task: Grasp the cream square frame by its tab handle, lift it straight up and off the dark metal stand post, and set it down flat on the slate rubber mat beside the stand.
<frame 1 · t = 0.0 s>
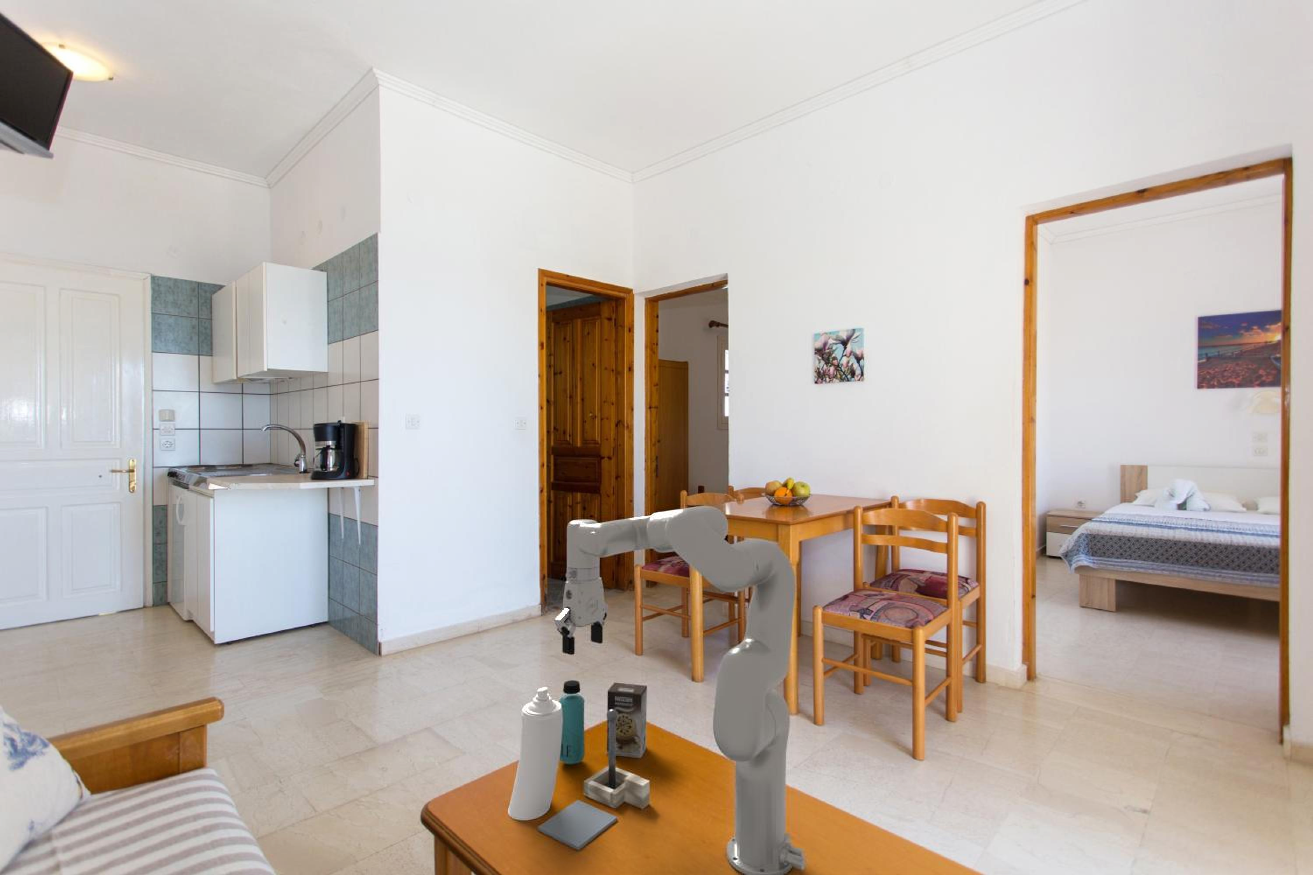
hand: (582, 647, 147), 31 cm above the table, fingers open, 9 cm apart
spray can: (535, 805, 138), on the table
cream square frame: (612, 792, 143), on the table
beverage bottle: (571, 764, 155), on the table
mat: (578, 824, 131), on the table
coffee box: (626, 751, 162), on the table
stand: (612, 792, 143), on the table
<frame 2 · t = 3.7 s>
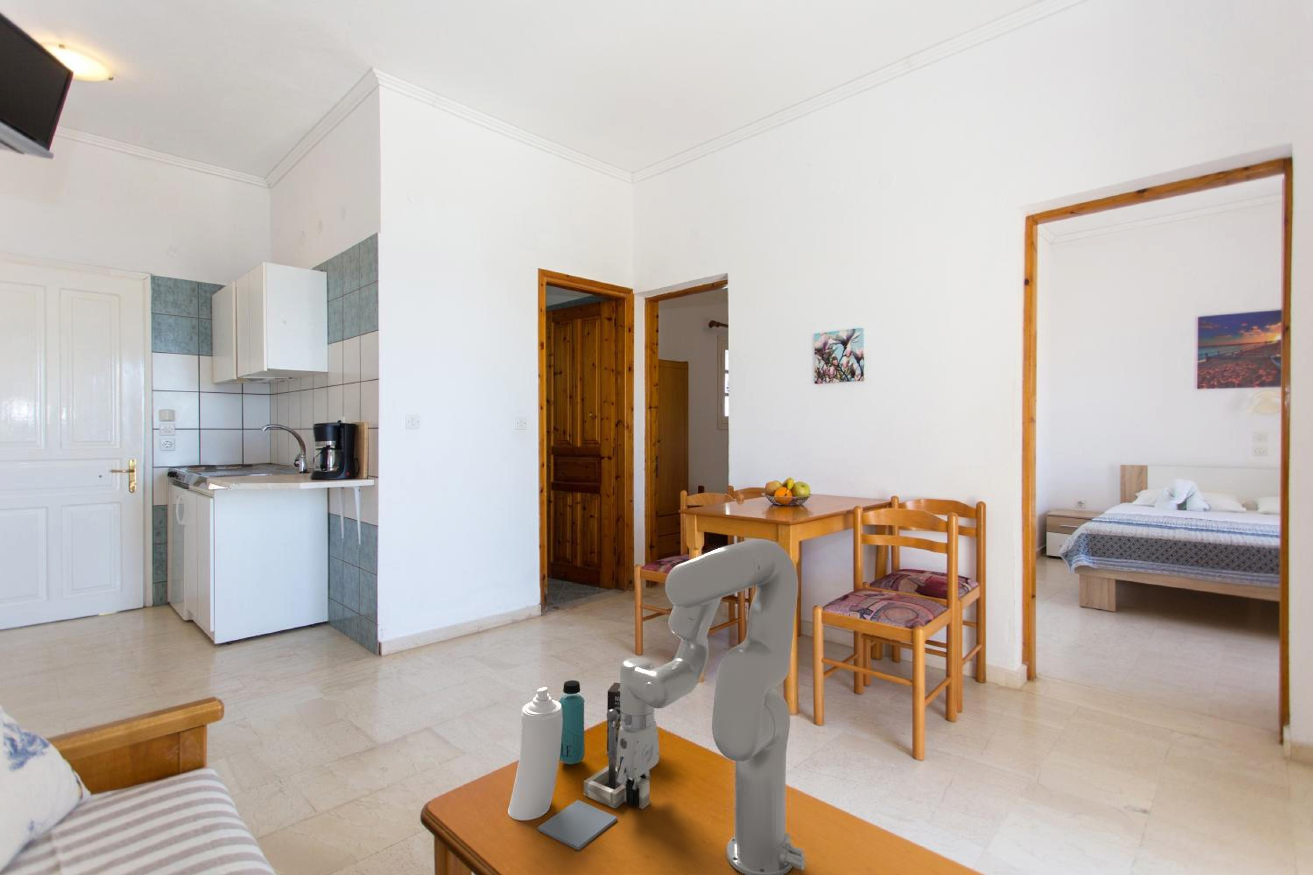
hand: (636, 800, 139), 0 cm above the table, fingers closed on cream square frame
cream square frame: (612, 792, 143), on the table, touching gripper
everything else where it was.
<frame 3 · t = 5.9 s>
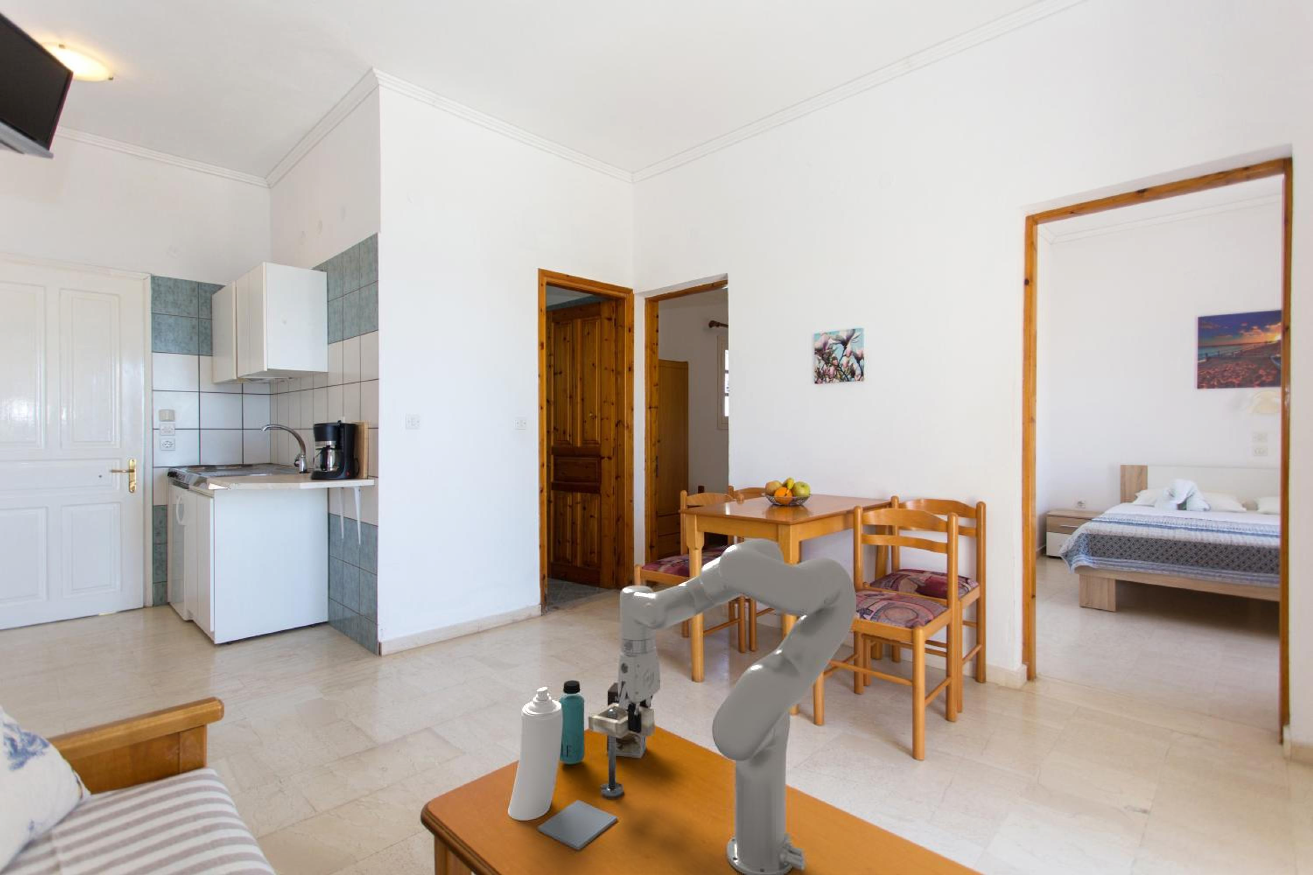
hand: (638, 727, 139), 16 cm above the table, fingers closed on cream square frame
cream square frame: (617, 726, 142), point 15 cm above the table, touching gripper
everything else where it was.
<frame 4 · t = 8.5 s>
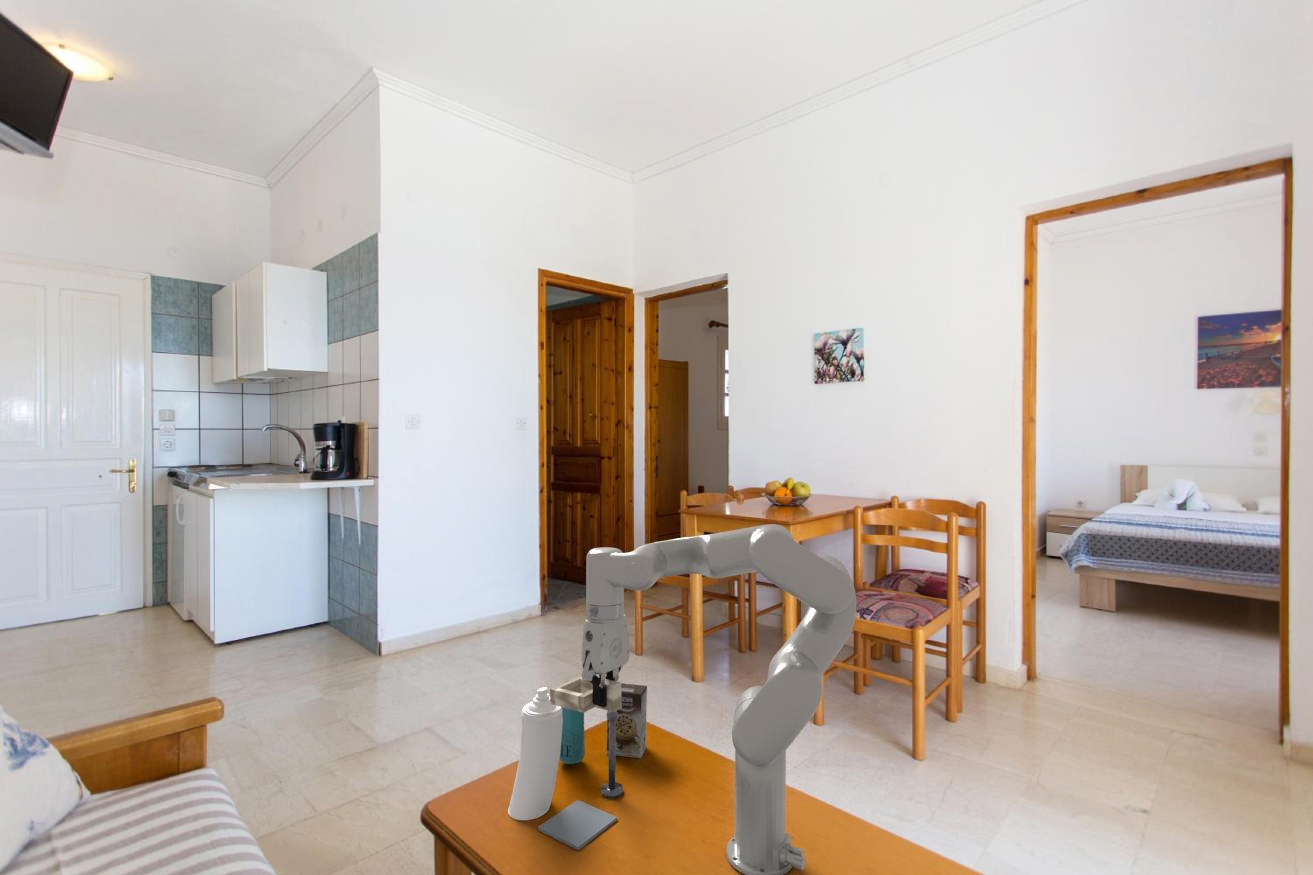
hand: (604, 701, 127), 27 cm above the table, fingers closed on cream square frame
cream square frame: (581, 700, 130), point 26 cm above the table, touching gripper
everything else where it was.
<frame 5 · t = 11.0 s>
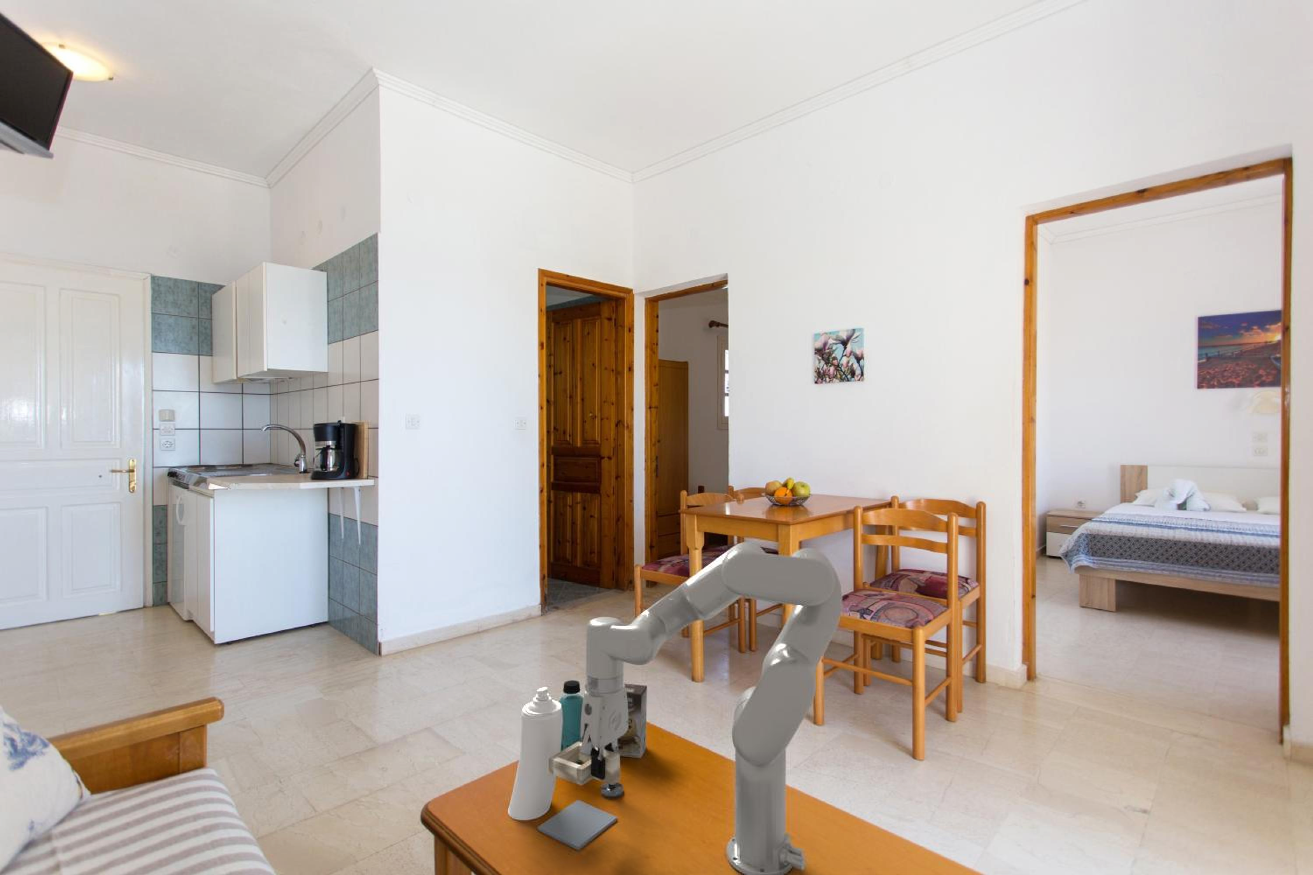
hand: (603, 772, 127), 13 cm above the table, fingers closed on cream square frame
cream square frame: (580, 769, 130), point 12 cm above the table, touching gripper
everything else where it was.
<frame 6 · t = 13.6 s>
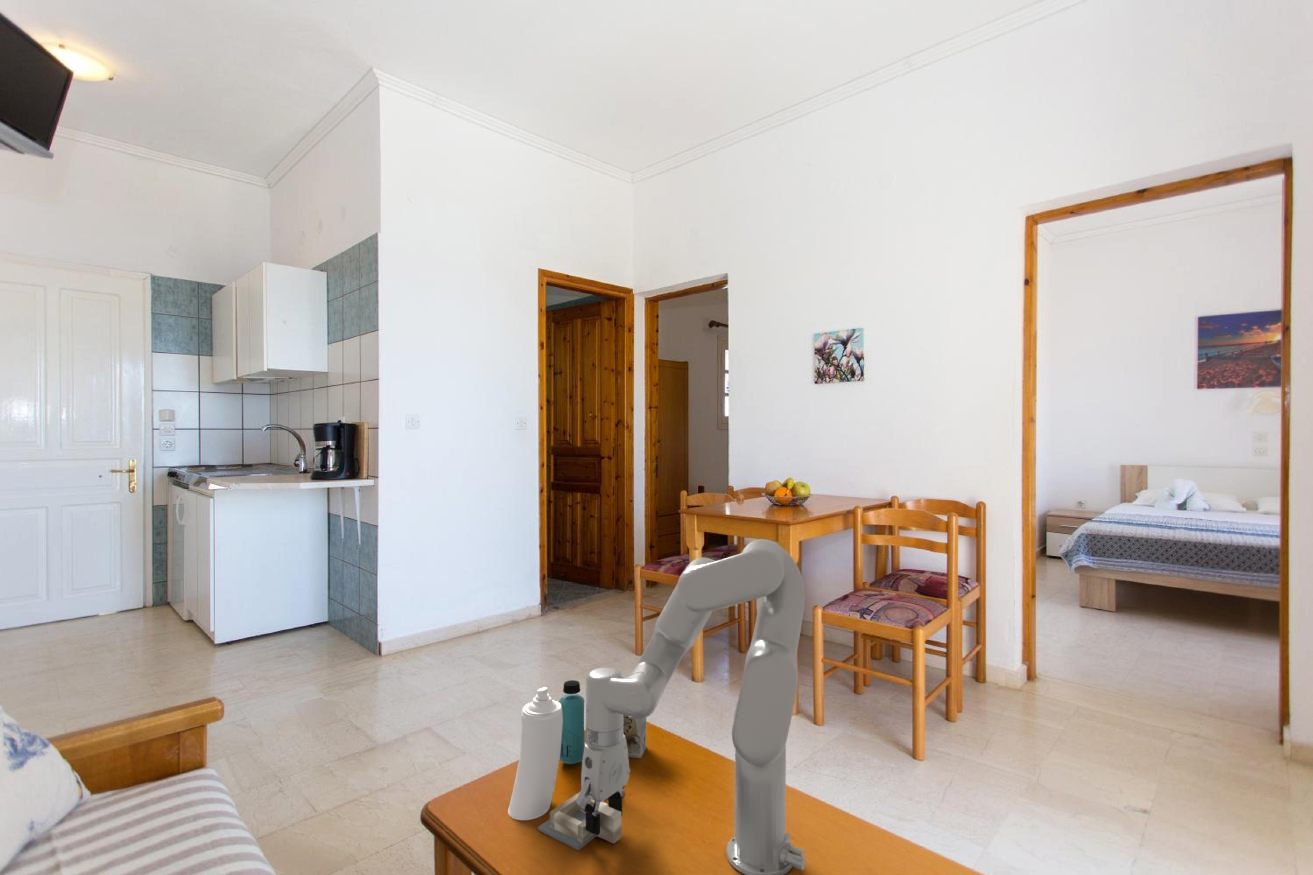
hand: (604, 822, 127), 3 cm above the table, fingers open, 6 cm apart
cream square frame: (581, 823, 130), point 1 cm above the table, touching mat
everything else where it was.
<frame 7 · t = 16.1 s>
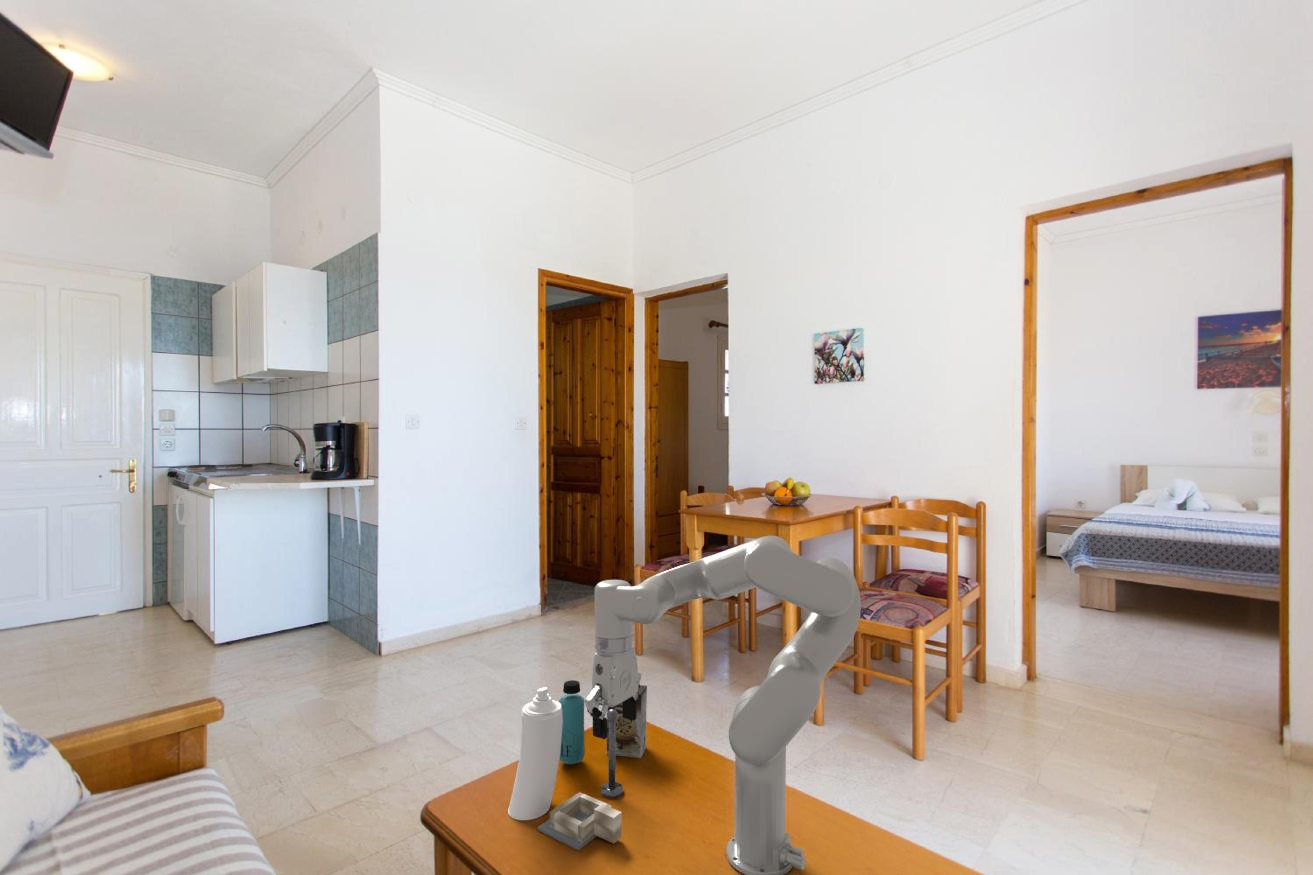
hand: (615, 727, 128), 21 cm above the table, fingers open, 9 cm apart
nothing on the table moved.
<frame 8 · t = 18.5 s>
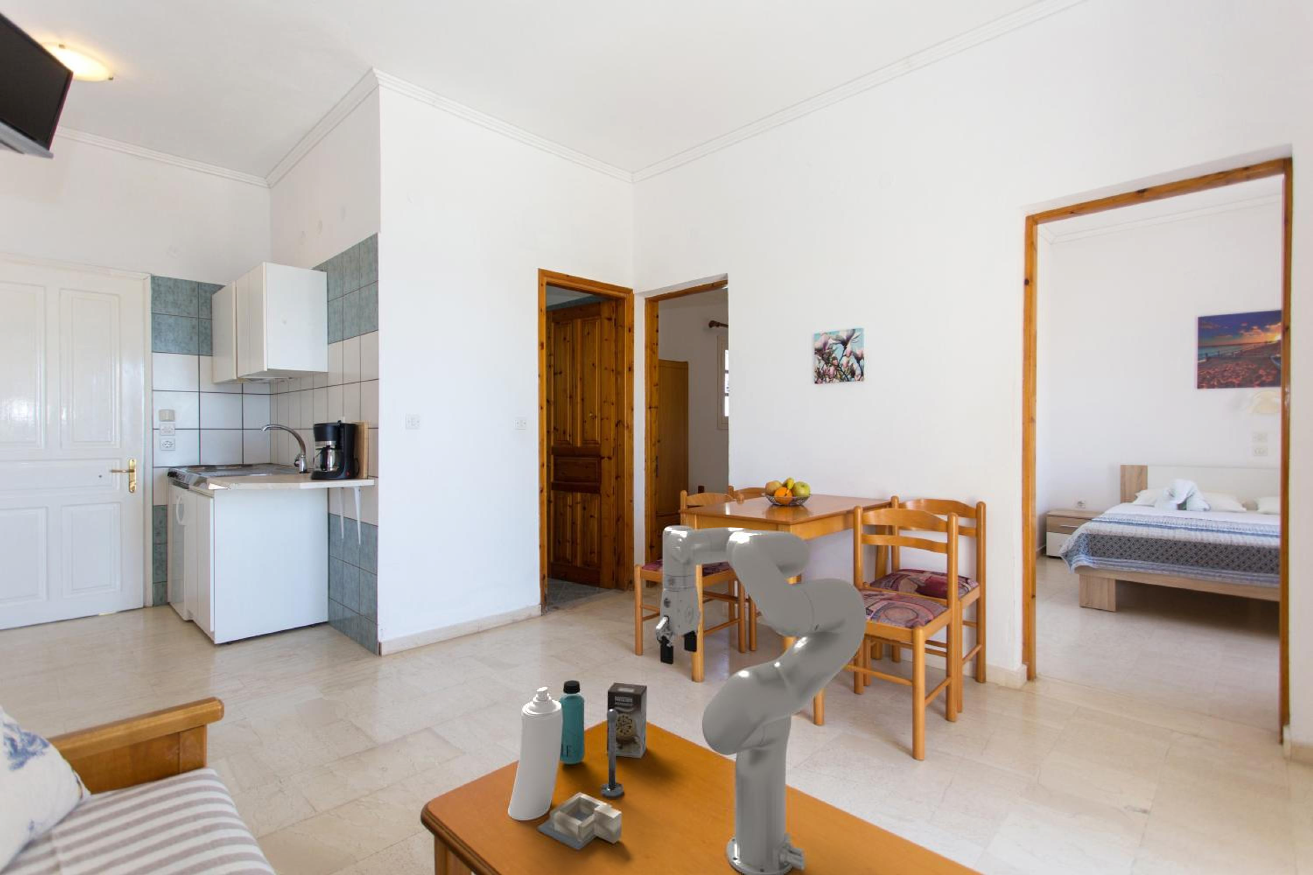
hand: (678, 656, 143), 30 cm above the table, fingers open, 9 cm apart
nothing on the table moved.
at the end: cream square frame inside the target area on the mat (0.9 cm from its centre), point 0.6 cm above the mat's base; cream square frame tilted 0°; the gripper is holding nothing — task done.
